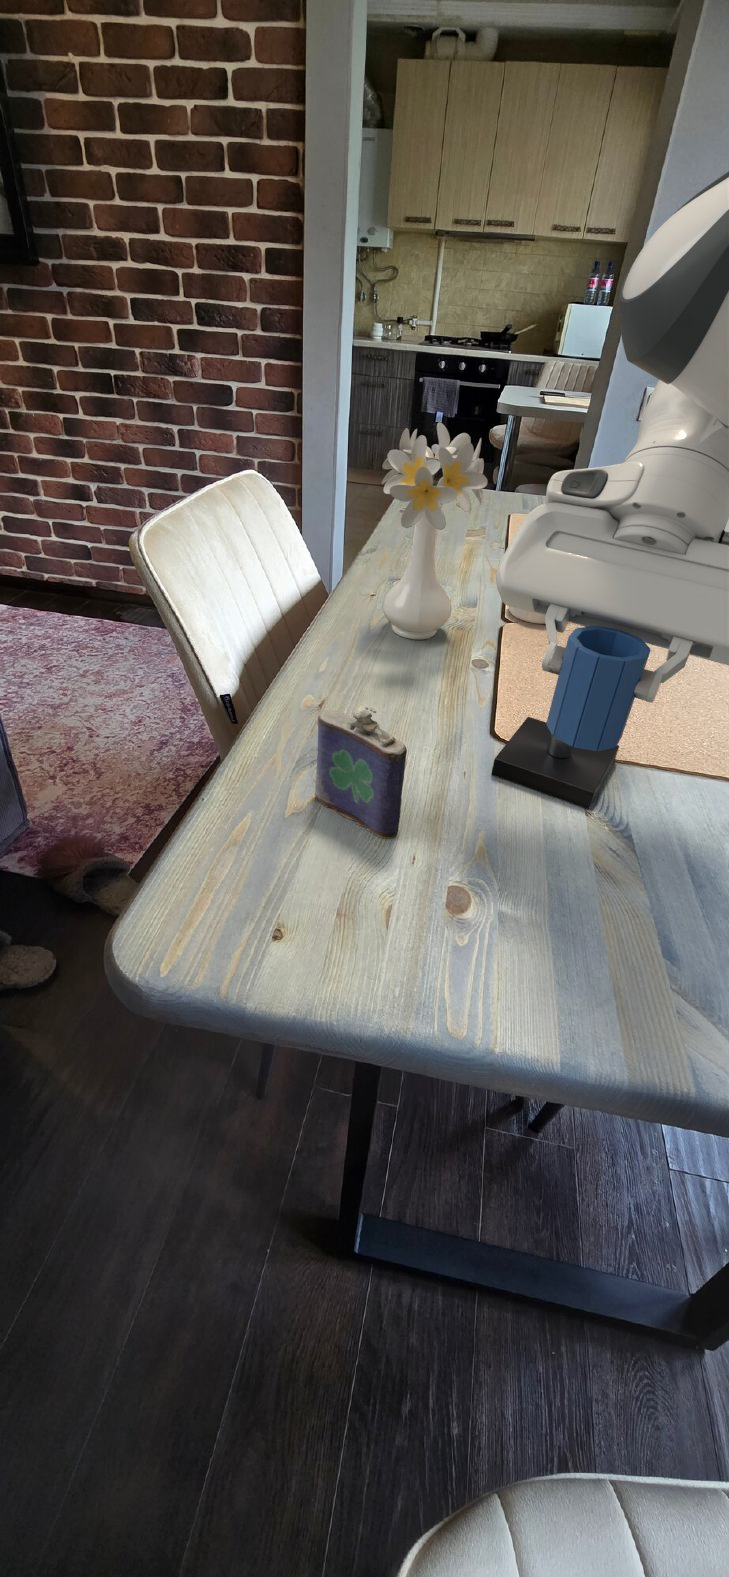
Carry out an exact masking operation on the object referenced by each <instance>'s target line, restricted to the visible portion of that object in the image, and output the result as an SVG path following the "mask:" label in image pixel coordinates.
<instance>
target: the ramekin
mask: <svg viewBox="0 0 729 1577" xmlns="http://www.w3.org/2000/svg"><path fill="white" fill-rule="evenodd" d="M507 608H508V611H509V613H510V614H511V615H512V616H513V617H515V618H517V619H518V620H521V621H524V622H526V623H531V624H537V625H538V624H540V625H544V624H545V625H546V623H545V616H544V615H540V614H537V613H533V612H529V611H526V610H522V609H518V608H514V607H511V606H508V607H507Z"/></svg>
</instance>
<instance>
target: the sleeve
mask: <svg viewBox="0 0 729 1577" xmlns="http://www.w3.org/2000/svg"><path fill="white" fill-rule="evenodd" d="M565 647H566V649H565V653H564V657H563V660H562V666H561V670H560V672H559V675H557V676H558V677H557V680H556V684H555V687H554V692H553V696H552V700H551V705H550V707H549V712H548V715H547V719H546V722H547V723H546V725H547V727H548V728H549V730H550V732H551V734H552V735H553V736H554V737H555V738H557V739H559V740H560V741H562V742H564V743H566V744H568V745H570V746H572V747H573V746H574V747H575V748H581V749H587V750H592V751H596V750H597V751H601V750H606V749H610V748H614V747H616V746H617V745H619V744H620V741H621V739H622V737H623V734H624V732H625V728H626V726H627V722H628V719H629V716H630V713H631V711H632V707H633V704H634V702H635V699H636V698H635V697H634V689H635V687H636V684H637V683H638V682H639V680H640V676H641V674H642V671H643V669H646V665H647V662H648V660H649V657H650V653H651V647H649V645H648V644H647V643H645V642H644V641H643V640H642V639H640V638H639V637H637V636H634V635H632V634H629V633H627V632H624V631H622V630H618V629H614V628H607V627H600V626H589V627H585V626H581V627H577V628H574V629H573V631H572V632H571V633H570V634H569V636H568V637H567V641H566V645H565Z"/></svg>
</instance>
